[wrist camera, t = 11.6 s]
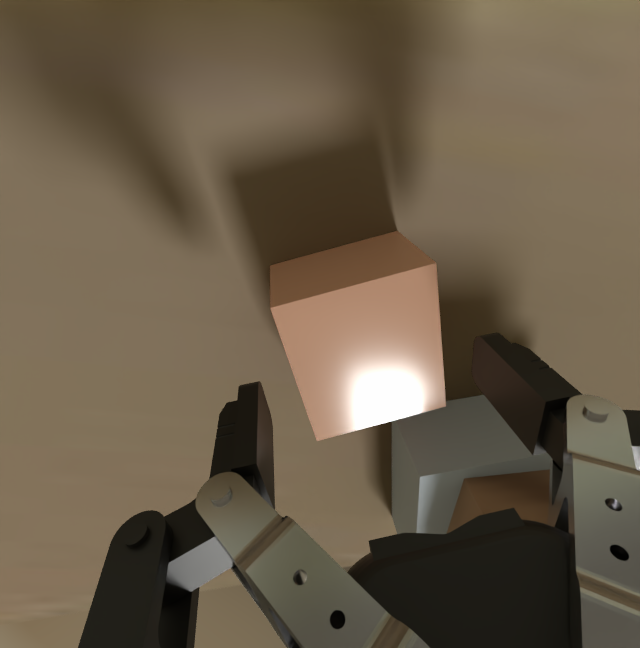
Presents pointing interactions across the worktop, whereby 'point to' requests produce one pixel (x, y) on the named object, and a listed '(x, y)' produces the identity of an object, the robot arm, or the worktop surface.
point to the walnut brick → (503, 497)
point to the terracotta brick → (361, 332)
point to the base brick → (450, 460)
